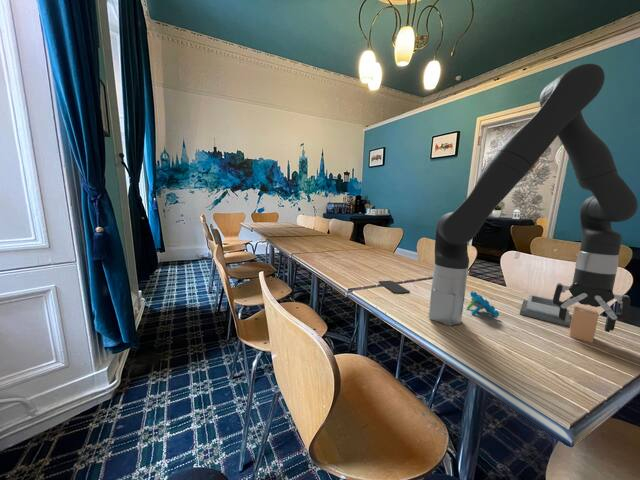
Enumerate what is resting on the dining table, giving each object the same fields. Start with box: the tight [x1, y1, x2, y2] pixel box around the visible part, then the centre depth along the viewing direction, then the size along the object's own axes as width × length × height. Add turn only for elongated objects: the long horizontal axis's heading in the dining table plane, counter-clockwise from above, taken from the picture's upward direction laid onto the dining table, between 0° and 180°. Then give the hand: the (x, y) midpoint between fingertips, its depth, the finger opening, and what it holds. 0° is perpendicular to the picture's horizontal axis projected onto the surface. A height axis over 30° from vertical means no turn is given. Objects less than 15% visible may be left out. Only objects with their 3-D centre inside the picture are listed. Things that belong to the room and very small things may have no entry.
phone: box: [377, 280, 411, 295], centre depth 107 cm, size 7×1×15 cm
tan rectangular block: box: [568, 304, 599, 343], centre depth 70 cm, size 4×4×8 cm
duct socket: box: [519, 294, 571, 328], centre depth 85 cm, size 13×12×4 cm
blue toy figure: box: [466, 291, 500, 318], centre depth 83 cm, size 11×6×10 cm
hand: (584, 325), depth 70 cm, fingers open, 8 cm apart
